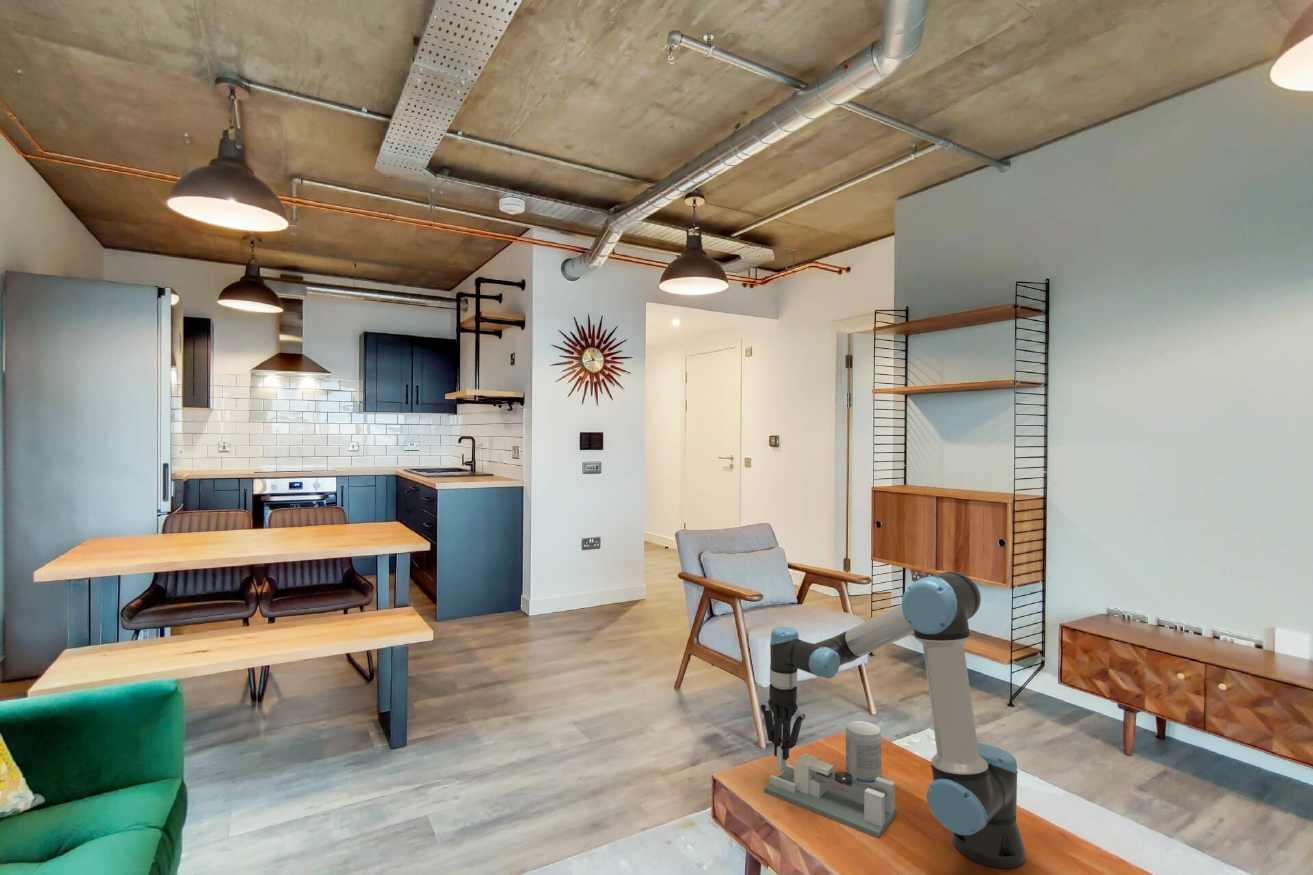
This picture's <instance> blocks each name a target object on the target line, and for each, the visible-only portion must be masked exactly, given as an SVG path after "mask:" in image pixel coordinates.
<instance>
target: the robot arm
mask: <svg viewBox="0 0 1313 875" xmlns="http://www.w3.org/2000/svg"><path fill="white" fill-rule="evenodd" d="M981 596H982V595H981V592H980V590H979V588H978V586H977V584H976V583H975V582H974V580H973V579H972V578H970V577H969V576H967V575H965V574H963V573H961V572H958V571H946V572H942V573H938V574H935V575H930V576H925V577H922V578H919V579H917V580H916V581H915V582H912V583H911V584H910V585H909V586H908V587H907V588H906V589H905V591H904V593H903V596H902V599H901V604H899V605H897V606H895V607H893V608H891V609H889V610H887V611H885V612H882V613H880V614H879V615H877V616H875V617H872V618H871V619H869V620H866V621H865V622H863V623H861V624H859V625H855V626H854V627H852V628H850V629H848V630H846V631H842V633H839V634H837V635H835V636H833V637H831V638H830V637H829V638H827V639H824V640H821V641H819V642H815V643H812V642H807V641H804V640H802V639H799V638H800V636H799V631H798V630H797V629H795V628H793V627H789V626H778V627H775V628H773V629H772V630H771V633H770V634H771V635H770V643H769V645H770V646H769V647H770V649H769V650H770V664H769V683H770V684H769V691H768V692H769V699H768V701H767V702H764V703H762V704H761V705H760V709H761V711H762V714H763V718H764V723H765V730H766V735H767V736H766V737H767V741H768V742H771V743H773V746H774V751H773V752H774V753H773V755H774V757H776V771H777V772H780V773H783V772H784V770H785V769H786V764H787V760H788V759H789V758H790V750H791V749H793V748H794V747H795V746H796V745H797V743H798V740H799V739H798V738H799V735H800V730H801V726H802V723H803V721H804V720H805V719H806V715H805V713H801V712H800V711H799V710H798V705H797V701H798V699H797V698H798V686H797V685H798V670H800V671H803V672H805V673H809V674H811V675H814V676H815V677H819V678H824V679H832V678H835V677H836V674H838V672H839V670H840V666H842V665H845V664H848V663H851V662H854V661H856V660H857V659H859V658H861V657H863V656H866V655H868V654H871V653H872V652H874V651H877V650H879V649H882V648H884V647H886V646H888V645H891V644H893V643H895V642H897V641H900V640H903V639H904V638H906V637H909V636H911V635H913V634H914V639H916V640H917V641H918V642H920V643H921V645H922V647H923V656H924V663H925V671H926V679H927V686H928V687H927V688H928V694H929V701H930V710H931V716H932V717H931V718H932V725H933V731H934V732H933V733H934V740H935V746H936V753H935V754H934V756H932V757H931V760H930V764H931V765H930V766H931V770H932V772H931V773H932V780H933V781H932V782H930V784H929V785H928V787H927V790H926V801H927V806H928V807H929V809H930V812H931V813H932V816H934V818H935V820H938V822H939V823H940V824H941V825H942V827H944V828H946V829H947V830H949V831H950V832H952V833H951V836H952V837H951V840H952V843H953V846H954V847H955V848H956V849H957V850H958V851H959V852H960V853H961V854H962V855H964V856H966V857H967V858H968V859H970V860H972V861H974V862H976V863H979V864H981V865H985V866H988V867H991V868H996V869H998V868H999V869H1014V868H1018V867H1020V866H1021V865H1023V864H1024V862H1025V858H1026V857H1025V852H1026V851H1025V850H1026V849H1025V843H1024V840H1023V838H1022V835H1021V831H1020V829H1019V826H1018V822H1017V807H1018V806H1017V805H1018V804H1017V802H1018V800H1017V798H1018V797H1017V796H1018V773H1019V770H1018V763H1017V760H1016V759H1017V758H1015V757H1014V755H1013V754H1011V753H1010V752H1008V751H1006V750H1005V749H1002V748H1000V747H997V746H995V745H990V744H986V743H981V742H978V739H977V738H978V737H977V730H976V722H975V716H974V708H973V703H972V701H973V700H972V695H971V687H970V679H969V673H968V665H967V658H966V652H965V643H966V642H967V641H968V640H969V639H970V637H971V634H970V626H969V619H971V618H973V617H974V616H975V615H976V613H977V612H978V611H979V610H980V607H981V601H982V599H981ZM793 716H794V722H793V724H792V725H793V726H792V725H791V722H792V718H793ZM791 726H792V729H791Z"/></svg>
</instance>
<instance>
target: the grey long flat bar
mask: <svg viewBox="0 0 1313 875" xmlns="http://www.w3.org/2000/svg"><path fill="white" fill-rule="evenodd" d="M852 778H853V777H852V775H851V774H849V773H847V772H846V771H841V770H840V771H836V772H835V771H834V770H833V771H832V772H831V773H830V774H829V775H828V776H827V775H824V774H822V773H819V772H816V773H815V779H818V780H821V781H823V782H826V783H827V784H828V785H831V786H834V787H836V788H839V789H842V790H845V791H847V792H850V793H853V794H856V795H858V796H861V797H864V794H865V790H866V789H867V788H870V789H872V790H875V791H878V792H881V793H884V794H885V798H886V797H887V792H886V791H884V790H881V789H878V788H876V787H873V786H870V785H868V784H865V783H862V782H860V781H857V780H854V779H852Z"/></svg>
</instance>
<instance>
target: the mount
mask: <svg viewBox="0 0 1313 875" xmlns="http://www.w3.org/2000/svg"><path fill="white" fill-rule="evenodd" d="M796 785H797V784H795V783H794V765H790V764H788V763H786V769H785V770H784V771H782V772H781V773H780V775H778V776H775V775H773V774H771V775H770V776H769V784H767V785H765V787H763V789H764V791H763V792H764V793H765V794H767V795H770V796H773V797H775V798H778V799H780V800H783V801H785V802H788V803H790V804H792V805H795V806H797V807H800V808H802V809H805V810H807V811H810V812H813V813H815V814H818V815H820V816H823V817H824V818H825V817H826V818H827V819H830V820H833V821H835V822H837V823H839V824H843V825H845V826H847V827H849V828H852V829H855V830H857V831H859V832H862V833H865V834H866V835H869V836H872V837H875V838H877V839H880V838H881V836H882V835H883V833H884V832H885V831H886V829H887V828H888V827H889V825H890V824H891V823H892V821H893V820H894V819H895V817H896V816H897V815H898V809H896V806H895V805H896V804H895V803H896V802H895V800H896V797H895V796H896V782H895V781H893V780H890V779H886V778H883V777H882V776H881V777H877V778H876V779H875V787H876V788H878V789H881V790H884V791H886V792H887V797H886V798H885V794H884V793H881V792H878V791H875V790H872V789H870V788H867V789H866V790H865V794H864V797H862V796H859V795H857V794H854V793H851V792H849V791H846V790H844V789H841V788H839V787H836V786H833V785H831V784H828V783H826V782H823V781H821V780H818V779H815V775H814V776H813V777H812V778H811V779H810V780H809V794H805V793H802V792H800V791H797V790H796Z"/></svg>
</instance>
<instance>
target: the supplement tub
mask: <svg viewBox="0 0 1313 875" xmlns="http://www.w3.org/2000/svg"><path fill="white" fill-rule="evenodd" d="M845 772H847V773H849V774H851V775H852V777H853V778H852V779H854V780H857V781H860V782H862V783H865V784H868V785H870V786H873V787H875V779H876V778H877V777H881V778H882V733H881V728H880V727H879V726H878V725H877V724H875V723H872V722H868V721H863V720H854V721H850V722H848V723H847V724H846V726H845Z"/></svg>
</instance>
